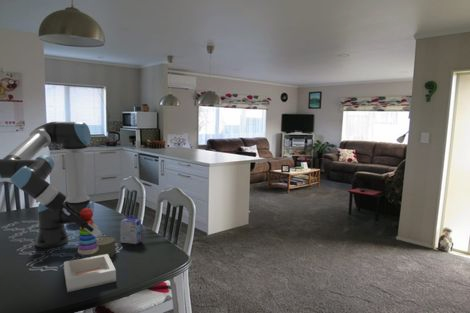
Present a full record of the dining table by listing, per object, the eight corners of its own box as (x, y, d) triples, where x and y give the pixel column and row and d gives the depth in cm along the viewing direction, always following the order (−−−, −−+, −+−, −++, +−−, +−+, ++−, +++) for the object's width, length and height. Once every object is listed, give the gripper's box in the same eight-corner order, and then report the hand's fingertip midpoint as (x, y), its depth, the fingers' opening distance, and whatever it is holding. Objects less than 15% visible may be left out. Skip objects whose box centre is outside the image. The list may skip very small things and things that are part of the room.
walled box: (64, 273, 142) (63, 261, 141) (108, 264, 151) (107, 253, 151) (67, 292, 127) (67, 279, 126) (116, 281, 136) (115, 269, 135)
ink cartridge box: (141, 240, 181) (141, 215, 179) (136, 244, 175) (136, 218, 174) (125, 239, 183) (125, 213, 181) (120, 242, 177) (119, 216, 176)
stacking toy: (81, 248, 141) (80, 205, 139) (101, 247, 141) (100, 205, 140) (74, 255, 133) (73, 210, 131) (94, 255, 134) (93, 210, 132)
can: (103, 260, 155) (103, 246, 155) (84, 256, 160) (83, 242, 159) (120, 251, 167) (120, 238, 166) (101, 247, 171) (101, 234, 170)
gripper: (43, 200, 135) (87, 232, 145) (44, 211, 119) (93, 247, 129) (57, 186, 137) (100, 219, 147) (60, 195, 121) (107, 231, 131)
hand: (97, 232), depth 138 cm, fingers closed on stacking toy, 6 cm apart
